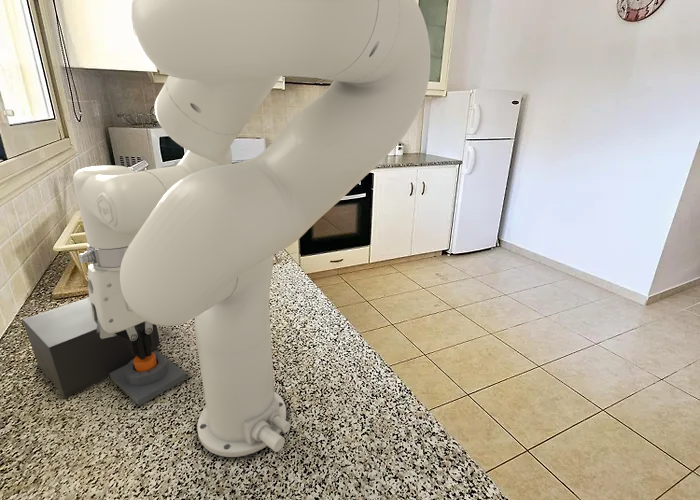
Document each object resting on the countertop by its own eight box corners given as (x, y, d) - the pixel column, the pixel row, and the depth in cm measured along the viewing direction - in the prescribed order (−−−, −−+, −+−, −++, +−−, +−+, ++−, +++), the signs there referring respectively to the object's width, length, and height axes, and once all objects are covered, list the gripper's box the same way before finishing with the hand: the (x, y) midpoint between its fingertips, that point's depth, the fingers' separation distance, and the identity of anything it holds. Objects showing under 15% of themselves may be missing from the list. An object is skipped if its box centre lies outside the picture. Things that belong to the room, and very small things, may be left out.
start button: (160, 365, 63) (158, 356, 62) (141, 375, 60) (139, 366, 60) (150, 357, 65) (149, 349, 64) (131, 367, 62) (129, 358, 62)
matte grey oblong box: (125, 329, 77) (115, 288, 73) (156, 353, 70) (147, 308, 66) (38, 366, 66) (22, 319, 62) (65, 398, 59) (48, 347, 55)
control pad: (187, 378, 64) (184, 364, 63) (139, 406, 58) (135, 390, 57) (157, 355, 69) (154, 342, 68) (110, 378, 63) (106, 364, 62)
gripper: (72, 275, 47) (102, 389, 54) (182, 244, 59) (196, 342, 65) (51, 260, 51) (81, 368, 58) (157, 233, 63) (173, 326, 69)
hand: (142, 354), depth 62 cm, fingers closed
